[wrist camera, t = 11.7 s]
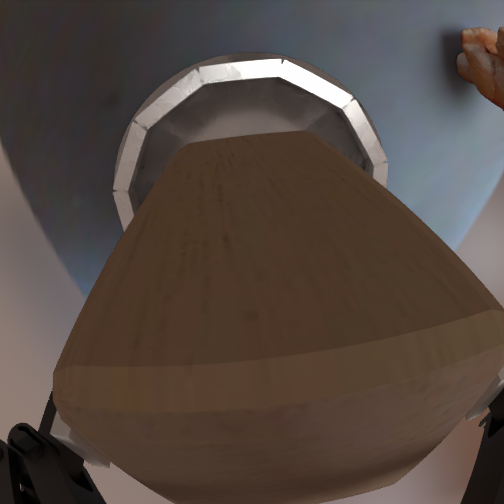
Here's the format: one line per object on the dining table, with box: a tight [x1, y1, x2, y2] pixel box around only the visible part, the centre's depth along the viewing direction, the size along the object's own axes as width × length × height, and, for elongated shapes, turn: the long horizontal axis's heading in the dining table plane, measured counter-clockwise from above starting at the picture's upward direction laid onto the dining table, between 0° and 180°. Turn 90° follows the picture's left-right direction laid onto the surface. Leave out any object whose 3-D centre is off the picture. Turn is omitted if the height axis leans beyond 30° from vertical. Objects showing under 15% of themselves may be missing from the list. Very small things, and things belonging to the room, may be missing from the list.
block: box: [53, 130, 504, 504], centre depth 15 cm, size 10×10×20 cm
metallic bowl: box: [113, 52, 388, 232], centre depth 23 cm, size 22×22×2 cm
